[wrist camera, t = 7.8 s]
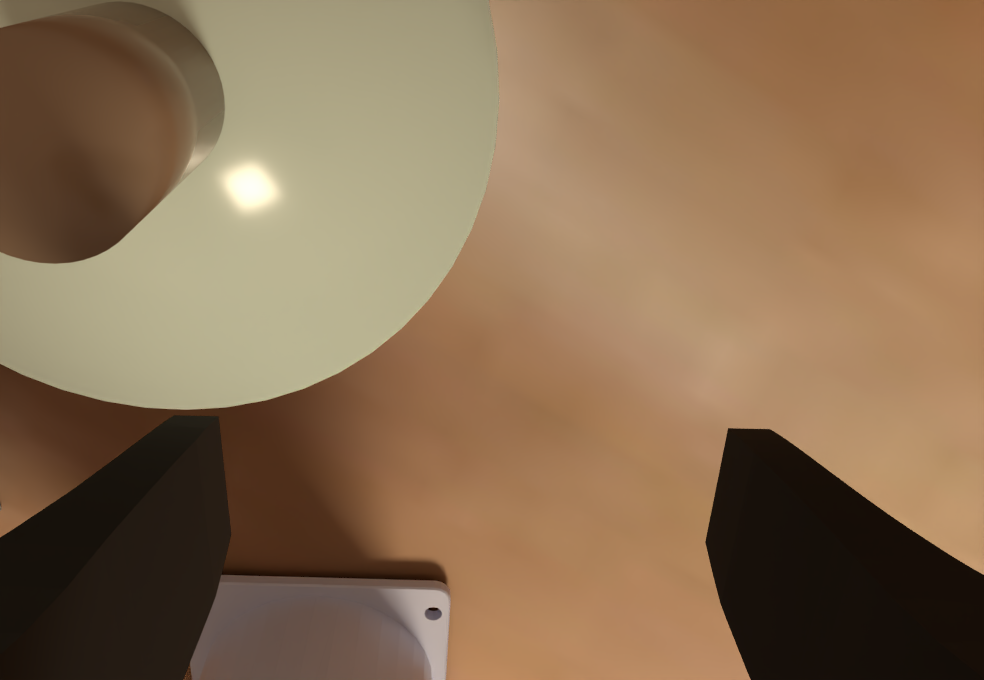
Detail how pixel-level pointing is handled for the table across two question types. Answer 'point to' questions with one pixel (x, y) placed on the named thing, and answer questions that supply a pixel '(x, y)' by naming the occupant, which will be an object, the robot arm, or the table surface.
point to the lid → (231, 186)
